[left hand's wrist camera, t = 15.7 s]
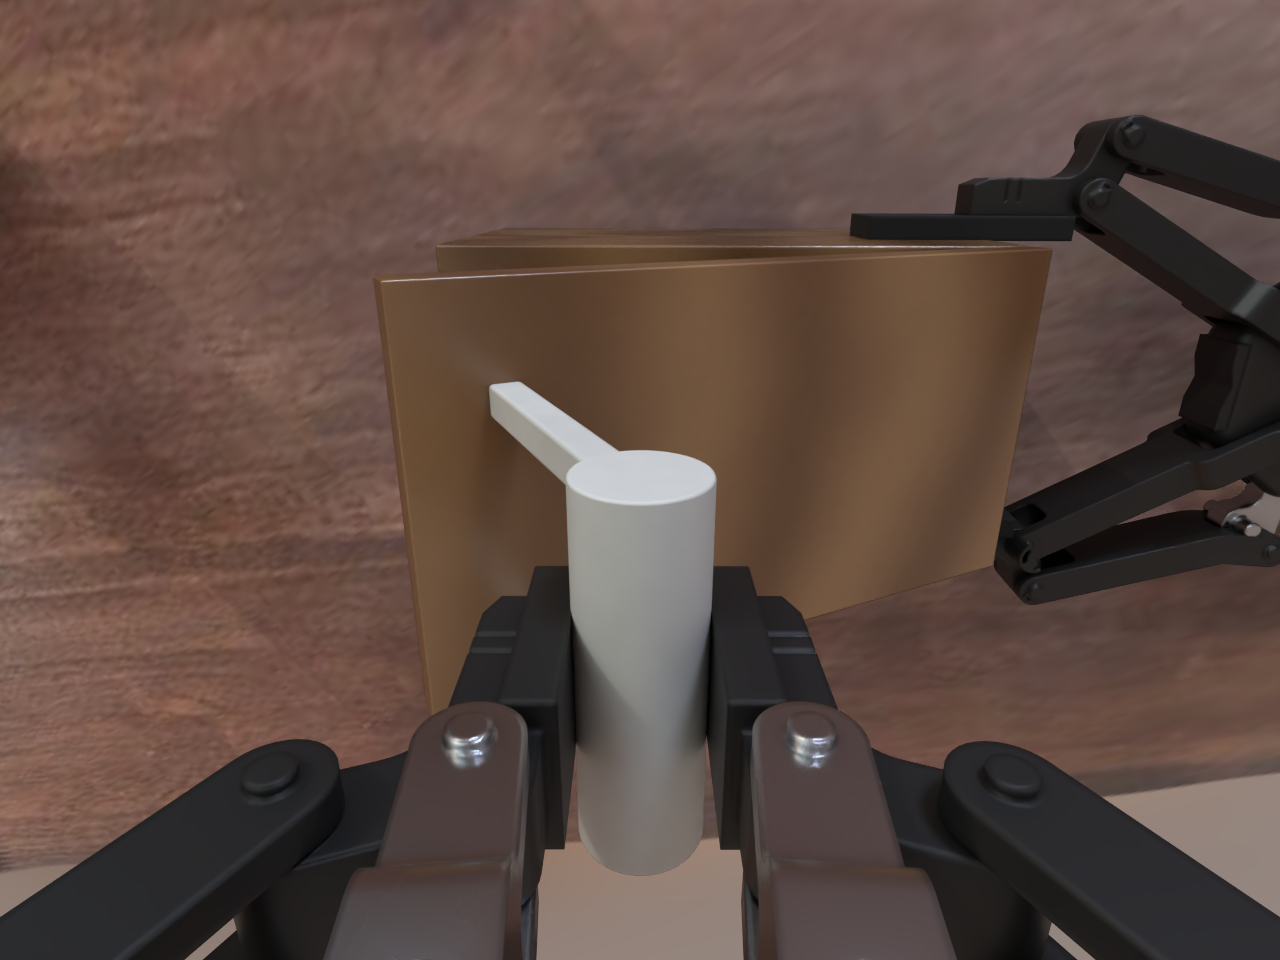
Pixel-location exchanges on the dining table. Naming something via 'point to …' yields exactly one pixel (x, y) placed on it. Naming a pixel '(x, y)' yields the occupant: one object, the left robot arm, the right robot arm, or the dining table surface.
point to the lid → (694, 469)
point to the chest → (663, 246)
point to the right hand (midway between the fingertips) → (844, 379)
